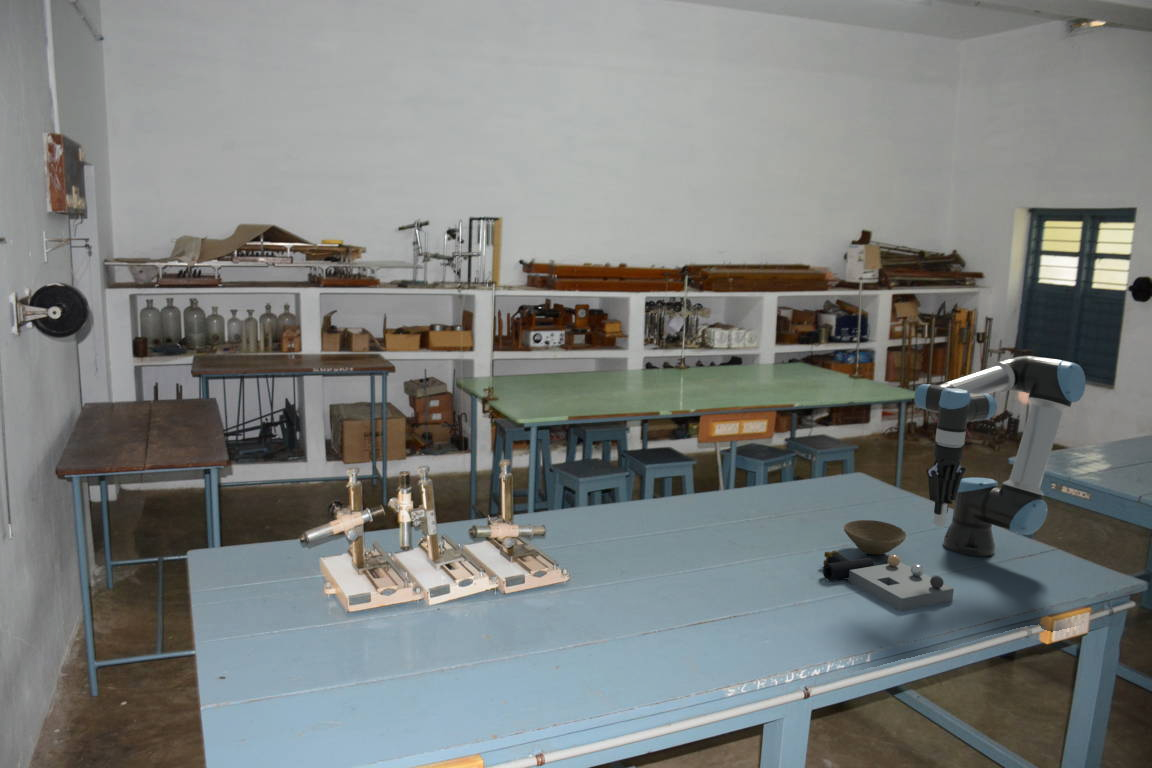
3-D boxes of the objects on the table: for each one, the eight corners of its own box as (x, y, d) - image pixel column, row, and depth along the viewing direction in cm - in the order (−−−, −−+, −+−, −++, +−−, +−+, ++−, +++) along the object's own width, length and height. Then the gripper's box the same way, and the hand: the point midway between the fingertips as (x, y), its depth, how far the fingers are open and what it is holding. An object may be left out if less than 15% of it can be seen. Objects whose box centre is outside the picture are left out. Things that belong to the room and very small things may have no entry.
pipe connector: (810, 551, 255) (850, 546, 260) (808, 568, 256) (848, 562, 261) (834, 567, 244) (876, 561, 250) (832, 584, 245) (874, 578, 251)
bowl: (838, 557, 264) (841, 533, 263) (844, 538, 281) (846, 515, 280) (902, 568, 258) (905, 543, 256) (904, 548, 275) (907, 524, 273)
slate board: (898, 572, 254) (899, 561, 254) (952, 600, 237) (953, 588, 236) (848, 581, 247) (849, 570, 246) (900, 610, 229) (901, 598, 228)
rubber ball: (935, 584, 238) (937, 573, 237) (945, 589, 235) (947, 577, 234) (926, 586, 237) (928, 574, 236) (936, 591, 234) (937, 579, 233)
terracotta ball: (893, 563, 252) (894, 552, 252) (901, 567, 249) (903, 556, 249) (884, 564, 251) (885, 553, 250) (892, 569, 248) (894, 558, 247)
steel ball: (916, 573, 246) (917, 562, 245) (925, 577, 243) (927, 566, 242) (907, 574, 244) (908, 563, 244) (916, 579, 241) (918, 568, 241)
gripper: (955, 439, 245) (945, 518, 249) (921, 442, 240) (911, 522, 244) (977, 445, 238) (966, 526, 243) (942, 449, 233) (932, 531, 237)
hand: (939, 524), depth 243 cm, fingers closed
